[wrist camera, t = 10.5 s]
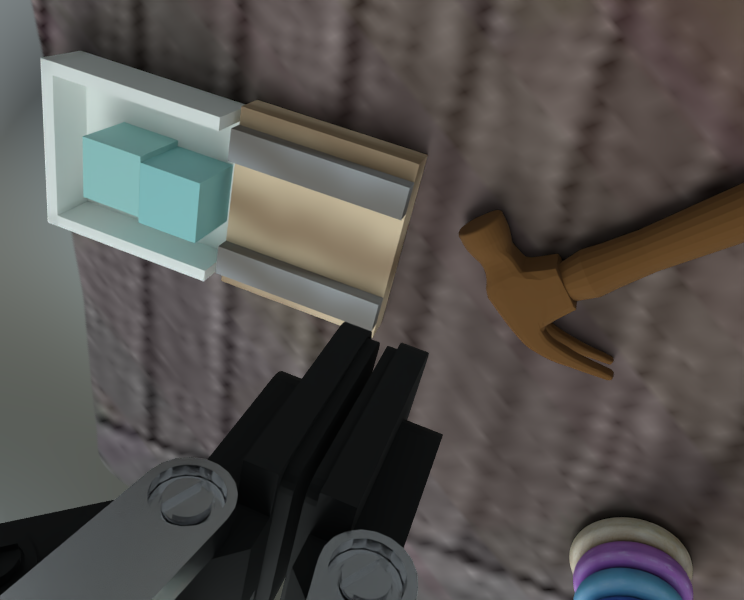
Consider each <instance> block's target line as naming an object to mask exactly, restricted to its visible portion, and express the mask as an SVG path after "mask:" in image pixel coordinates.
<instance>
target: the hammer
mask: <svg viewBox="0 0 744 600" xmlns="http://www.w3.org/2000/svg"><path fill="white" fill-rule="evenodd" d="M459 237H460V239H461V241H462V243H463V244H464V246H465V247H466V249H467V250H468V252H469V253H470V254H471V255H472V256H473V257H474V258H475V259H477V260H478V261H479V262H480V263H481V265H482V266H483V268H484V270H485V273H486V278H487V284H486V290H487V295H488V298H489V300H490V301H491V302H492V304H493V305H494V307H495V308H496V310H497V311H498V312H499V314H500V315H501V316H502V318H503V319H504V320H505V322H506V323H507V324H508V326H509V327H510V328H511V329H512V331H513V332H514V333H515V334H516V336H517V337H518V338H519V339H520V340H521V341H522V342H523V343H524V344H525V345H526V346H527V347H528V348H530V349H531V350H533V351H535V352H536V353H538V354H540V355H541V356H543V357H545V358H547V359H549V360H551V361H554V362H556V363H559V364H562V365H565V366H568V367H571V368H574V369H577V370H579V371H582V372H585V373H588V374H591V375H594V376H597V377H600V378H602V379H605V380H611V379H612V378H613V375H614V372H613V371H612V370H611V369H609V368H607V367H605V366H603V365H601V364H599V363H597V362H594V361H592V360H590V359H588V358H586V357H589V358H592V359H595V360H598V361H601V362H603V363H606V364H611V363H613V361H614V359H613V357H612V356H610V355H608V354H606V353H604V352H602V351H600V350H597V349H595V348H593V347H591V346H589V345H587V344H585V343H583V342H581V341H579V340H578V339H576V338H574V337H572V336H571V335H569V334H567V333H566V332H564V331H563V330H561V329H560V328H558V327H557V326H556V325H554V324H553V323H552V322H553V321H555V320H557V319H559V318H561V317H563V316H565V315H567V314H568V313H570V312H572V311H574V310H576V305H577V301H579V300H585V299H591V298H597V297H601V296H603V295H606V294H608V293H610V292H612V291H614V290H616V289H618V288H620V287H622V286H625V285H627V284H629V283H632V282H634V281H636V280H639V279H641V278H643V277H646V276H648V275H650V274H653V273H655V272H657V271H660V270H663V269H666V268H669V267H672V266H675V265H678V264H681V263H684V262H687V261H690V260H693V259H696V258H699V257H702V256H705V255H708V254H711V253H714V252H717V251H720V250H723V249H726V248H729V247H732V246H735V245H737V244H740V243H743V242H744V183H742V184H740V185H737V186H735V187H733V188H731V189H728V190H726V191H724V192H722V193H720V194H717V195H715V196H713V197H711V198H708V199H706V200H704V201H702V202H700V203H697V204H695V205H693V206H691V207H688V208H686V209H684V210H682V211H680V212H677V213H675V214H673V215H671V216H668V217H666V218H664V219H662V220H660V221H657V222H655V223H653V224H651V225H648V226H646V227H644V228H642V229H640V230H637V231H634V232H631V233H629V234H626V235H623V236H620V237H617V238H615V239H612V240H609V241H606V242H603V243H601V244H597V245H594V246H591V247H587V248H584V249H581V250H579V251H577V252H576V253H574V254H573V255H571V256H570V257H568V258H567V259H565V260H564V261H562V259H561V257H560V256H559V254H552V255H546V256H538V257H526V256H524V255H523V254H522V253H521V252H520V250H519V249H518V248H517V247H516V246H515V245H514V244H513V243H512V238H511V232H510V228H509V225H508V223H507V221H506V219H505V217H504V215H503V213H502V211H500V210H494V211H491V212H489V213H487V214H484V215H482V216H480V217H477V218H475V219H473V220H471V221H470V222H468V223H467V224H466V225H464V226H463V227H462V228H461V229H460V231H459ZM584 356H586V357H584Z"/></svg>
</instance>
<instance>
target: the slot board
mask: <svg viewBox="0 0 744 600" xmlns="http://www.w3.org/2000/svg"><path fill="white" fill-rule="evenodd" d="M427 156H428V155H426V154H423V153H420V152H417V151H414V150H411V149H408V148H404V147H401V146H398V145H395V144H392V143H389V142H386V141H383V140H380V139H377V138H374V137H371V136H367V135H364V134H361V133H358V132H355V131H352V130H349V129H346V128H343V127H340V126H337V125H333V124H330V123H327V122H324V121H321V120H318V119H315V118H312V117H309V116H306V115H303V114H300V113H296V112H293V111H290V110H287V109H284V108H281V107H278V106H275V105H272V104H269V103H266V102H262V101H259V100H255V101H253V102H250V103H248V104H246V105H243V106H241V115H240V123H239V125H237V126H235V127H233V128H231V134H230V143H229V152H228V161H229V162H232V163H235V167H234V176H233V184H232V193H231V202H230V210H229V219H228V228H227V237H226V241H225V242H223V243H222V244H221V245H219V246H218V254H217V263H216V272H215V273H217V274H220V275H222V280H221V281H223V282H226V283H229V284H231V285H234V286H237V287H239V288H242V289H245V290H247V291H250V292H253V293H255V294H258V295H261V296H263V297H266V298H269V299H271V300H274V301H277V302H279V303H282V304H285V305H287V306H290V307H293V308H295V309H298V310H300V311H303V312H306V313H308V314H311V315H314V316H316V317H319V318H322V319H324V320H327V321H330V322H332V323H335V324H338V325H340V326H341V324H342V323H343V322H348V323H351V324H353V325H356V326H359V327H361V328H364V329H367V330H369V331H372V338H373V336H374V334H375V333H376V331H377V330H378V328H379V326H380V325H381V323H382V320H383V316H384V312H385V309H386V305H387V302H388V298H389V294H390V291H391V287H392V283H393V280H394V276H395V273H396V269H397V265H398V262H399V258H400V254H401V251H402V247H403V243H404V240H405V236H406V233H407V229H408V225H409V222H410V218H411V214H412V211H413V207H414V204H415V200H416V196H417V193H418V189H419V185H420V182H421V178H422V174H423V171H424V167H425V164H426V160H427Z"/></svg>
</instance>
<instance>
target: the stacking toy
mask: <svg viewBox="0 0 744 600" xmlns="http://www.w3.org/2000/svg"><path fill="white" fill-rule="evenodd" d="M569 560H570V566H571V569H572V572H573V584H574V590H575V595H574V600H693V588H692V584H691V581H692V576H693V567H692V562H691V558H690V556H689V553H688V552H687V550H686V548H685V547H684V545H683V544H682V543H681V542H680V541H679V540H678V538H676V537H675V536H674V535H673V534H671V533H670V532H669V531H667V530H666V529H664V528H662V527H660V526H658V525H656V524H654V523H651V522H648V521H645V520H641V519H636V518H628V517H614V518H607V519H603V520H599V521H597V522H594V523H592V524H590V525H588V526H587V527H585V528H584V529H582V530H581V531H580V532H579V533H578V534H577V536H576V537H575V539H574V541H573V543H572V545H571V548H570V556H569Z"/></svg>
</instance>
